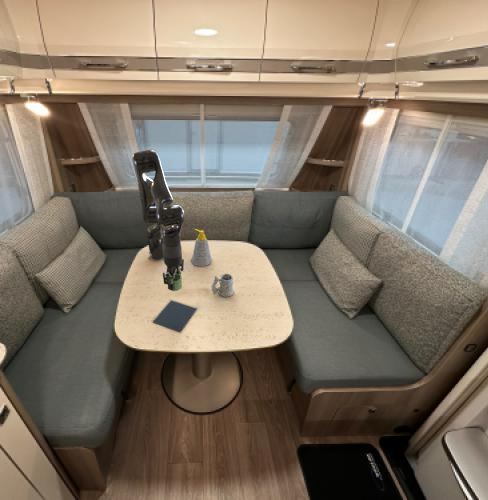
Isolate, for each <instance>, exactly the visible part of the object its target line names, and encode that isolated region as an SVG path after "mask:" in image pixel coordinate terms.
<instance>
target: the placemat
mask: <svg viewBox="0 0 488 500" xmlns="http://www.w3.org/2000/svg"><path fill="white" fill-rule="evenodd" d="M162 309H163V310H162V311H161V312H160V313H159V314H158V315H157V316H156V317H155V319H153V321H152V323H154V324H156V325H158V326H159V325H160V326H162V327H165V328H168V329H171V330H173V331H176V332H179V333H181V332H182V330H183V329H184V328H185V326H186V325H187V323H189V321H190V320H191V317H192V316H193V315H194V313H195V311H196V310H197V308H196V307H193V306H190V305H186V304H185V303H182V302H181V303H180V302H177V301H176V300H175V301H174V300H170V301H169V303H168V304H166V306H165V307H164V308H162Z"/></svg>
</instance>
